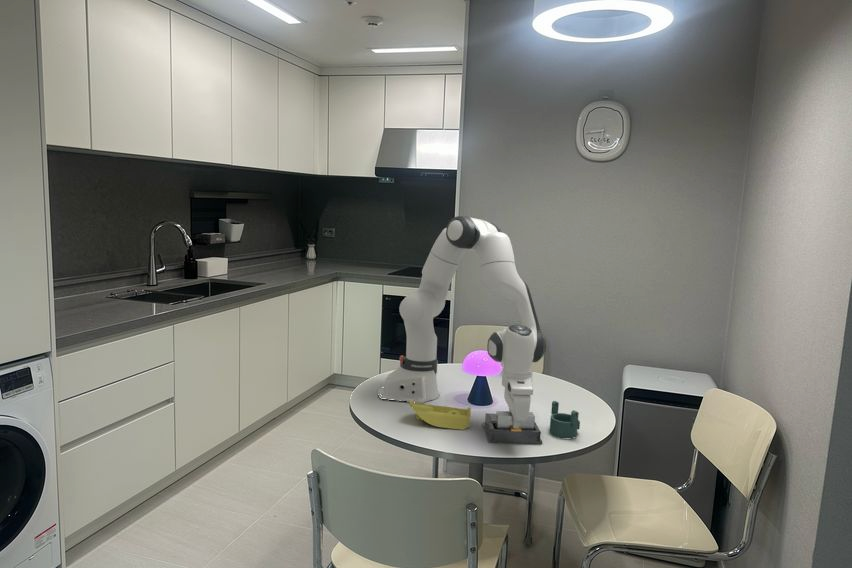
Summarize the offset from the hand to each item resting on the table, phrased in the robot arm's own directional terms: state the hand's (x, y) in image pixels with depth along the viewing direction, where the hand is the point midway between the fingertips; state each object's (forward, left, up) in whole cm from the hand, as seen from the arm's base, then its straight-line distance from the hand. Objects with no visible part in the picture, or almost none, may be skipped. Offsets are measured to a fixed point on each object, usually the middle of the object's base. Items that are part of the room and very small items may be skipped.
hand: (514, 424), depth 167 cm
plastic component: (-22, +12, -5) cm, 26 cm away
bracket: (+17, +5, -5) cm, 18 cm away
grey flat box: (0, +3, -4) cm, 6 cm away
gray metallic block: (0, 0, -2) cm, 2 cm away
